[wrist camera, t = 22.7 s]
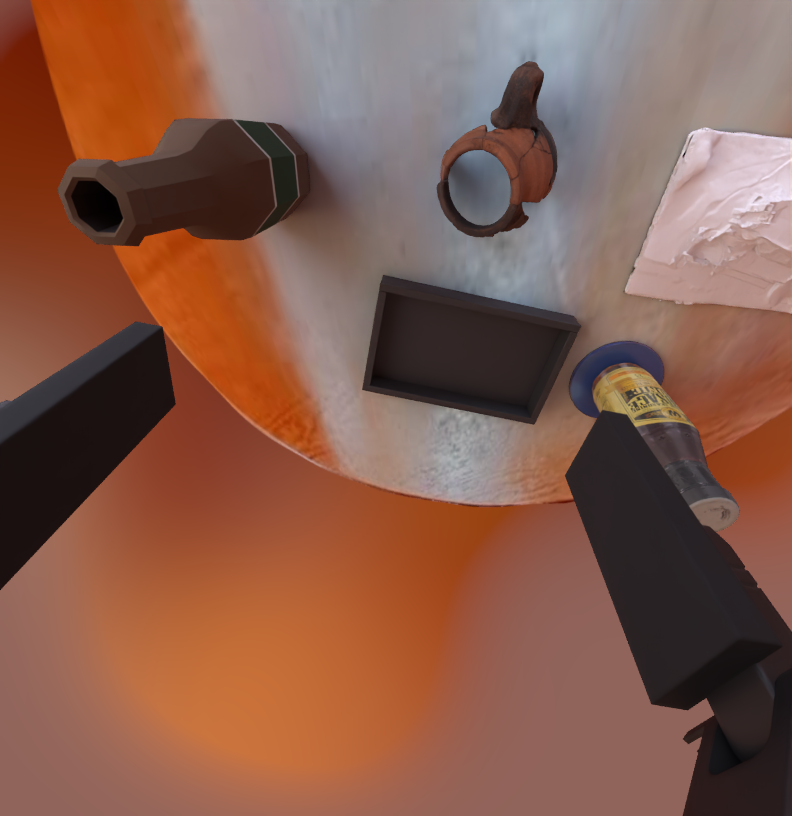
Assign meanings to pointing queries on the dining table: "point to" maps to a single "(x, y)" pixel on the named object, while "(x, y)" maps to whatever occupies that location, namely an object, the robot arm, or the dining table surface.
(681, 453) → the sauce bottle
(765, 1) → the dining table surface
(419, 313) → the tray
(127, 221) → the beer bottle
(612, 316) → the dining table surface
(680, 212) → the terrain model
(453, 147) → the brown broken pot
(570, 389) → the coaster
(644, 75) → the dining table surface
